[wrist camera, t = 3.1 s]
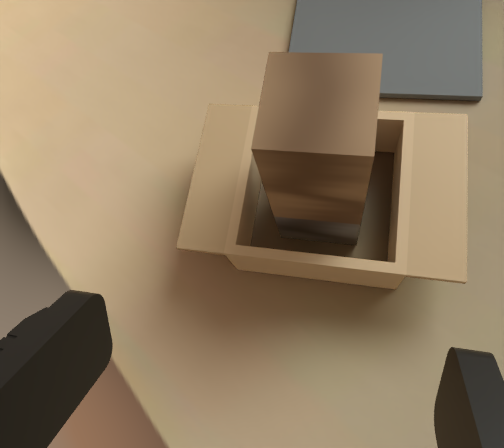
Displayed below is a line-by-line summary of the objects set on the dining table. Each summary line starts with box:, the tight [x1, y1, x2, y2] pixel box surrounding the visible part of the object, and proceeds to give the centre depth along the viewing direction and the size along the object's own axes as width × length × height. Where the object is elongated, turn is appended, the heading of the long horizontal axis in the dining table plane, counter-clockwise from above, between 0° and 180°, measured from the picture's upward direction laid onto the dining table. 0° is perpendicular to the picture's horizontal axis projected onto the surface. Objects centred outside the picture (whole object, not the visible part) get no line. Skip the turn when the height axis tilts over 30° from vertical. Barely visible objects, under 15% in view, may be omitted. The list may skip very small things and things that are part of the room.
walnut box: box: [251, 52, 383, 245], centre depth 24 cm, size 5×5×12 cm
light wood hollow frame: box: [176, 104, 468, 289], centre depth 27 cm, size 16×10×4 cm, turn 81°
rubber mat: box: [289, 0, 482, 101], centre depth 33 cm, size 14×12×1 cm
